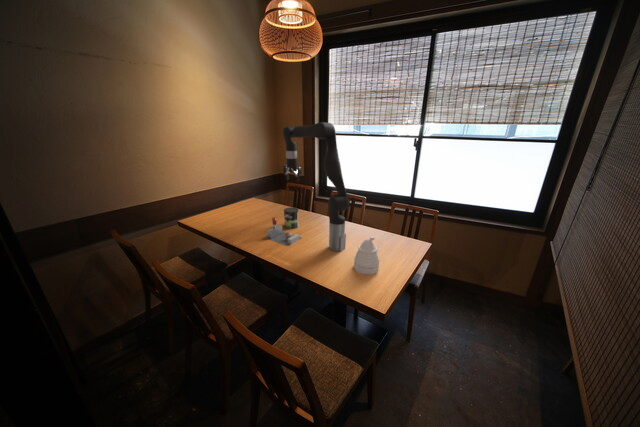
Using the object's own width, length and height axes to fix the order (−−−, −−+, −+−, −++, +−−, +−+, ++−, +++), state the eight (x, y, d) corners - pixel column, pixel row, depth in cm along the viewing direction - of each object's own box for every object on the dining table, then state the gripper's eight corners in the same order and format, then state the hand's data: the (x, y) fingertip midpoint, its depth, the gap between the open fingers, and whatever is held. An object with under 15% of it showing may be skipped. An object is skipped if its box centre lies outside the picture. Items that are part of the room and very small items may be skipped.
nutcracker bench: (302, 239, 163) (302, 233, 161) (288, 248, 152) (288, 241, 150) (278, 232, 173) (278, 226, 172) (263, 239, 162) (263, 233, 161)
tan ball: (293, 237, 159) (293, 231, 158) (289, 239, 156) (288, 234, 155) (288, 236, 162) (288, 230, 160) (284, 238, 158) (284, 232, 157)
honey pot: (375, 260, 138) (377, 231, 132) (381, 274, 126) (384, 242, 120) (352, 261, 138) (353, 231, 132) (356, 274, 126) (358, 243, 120)
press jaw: (282, 232, 169) (281, 216, 165) (271, 238, 160) (269, 221, 156) (279, 231, 170) (278, 215, 166) (267, 237, 162) (266, 220, 158)
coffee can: (293, 232, 174) (293, 213, 169) (281, 229, 178) (280, 210, 173) (301, 226, 182) (301, 208, 178) (290, 224, 187) (289, 206, 182)
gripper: (303, 157, 169) (303, 181, 175) (287, 155, 176) (288, 178, 182) (296, 159, 163) (297, 183, 169) (280, 157, 170) (281, 180, 176)
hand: (292, 180), depth 175 cm, fingers open, 8 cm apart
